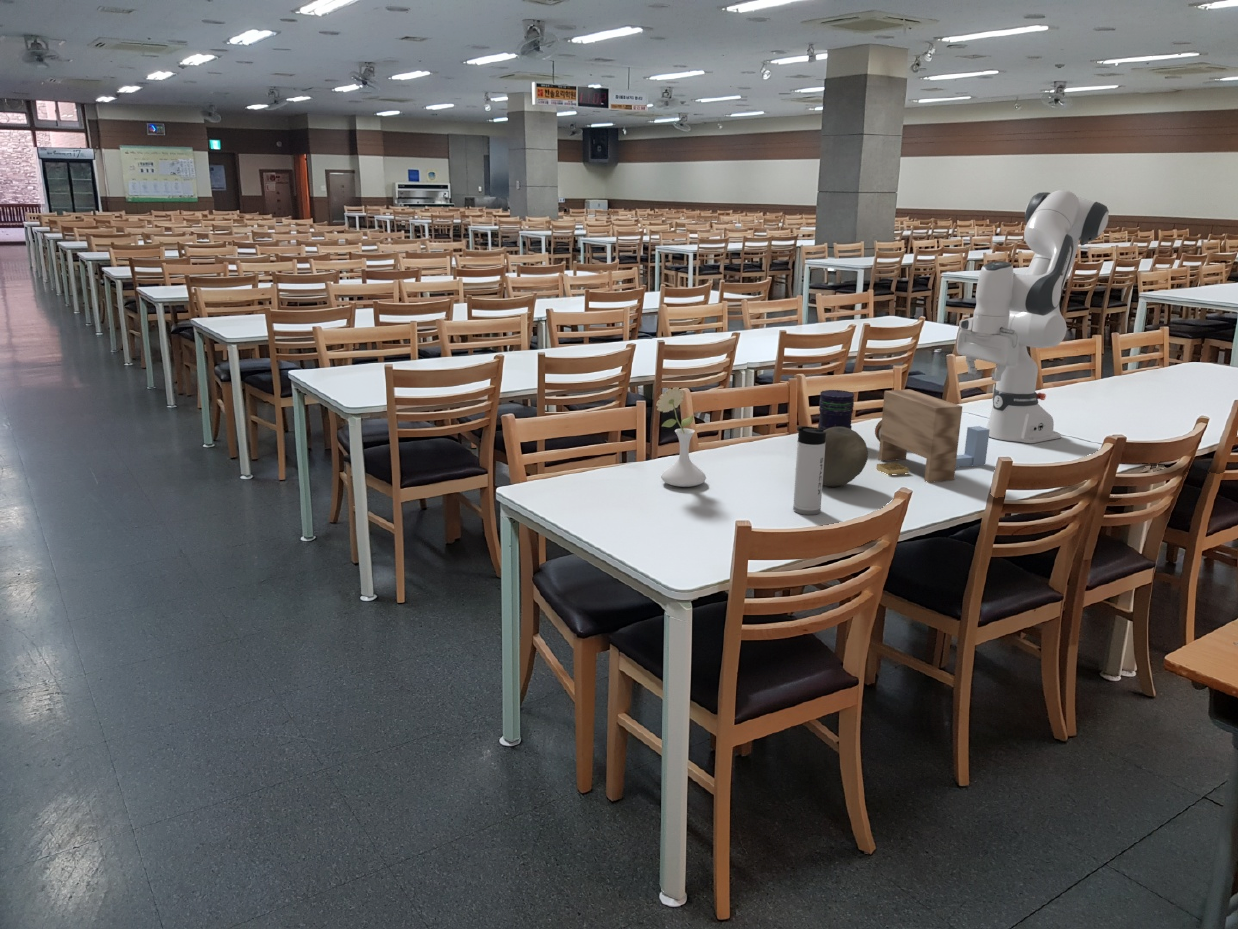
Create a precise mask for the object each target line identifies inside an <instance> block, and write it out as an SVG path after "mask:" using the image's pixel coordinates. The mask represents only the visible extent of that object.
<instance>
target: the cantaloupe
mask: <svg viewBox="0 0 1238 929" xmlns="http://www.w3.org/2000/svg"><path fill="white" fill-rule="evenodd" d="M824 432H826V438H825V442H826V443H825V457H824V471H823V484H822V486H826V487H830V488H831V487H840V486H844V485H846V484H848V483H850V482H852V481H853V480H855V479H856V477H858V476H859V475H860V474H861V473H862V472H863V470H864V468H865V466H866V464H867V462H868V460H869V448H868V447H867V444H866V440H864V438H863V437H862V436H861V435H860V434H859V433H858V432H856V431H854V429H852V428H851V429H849V428H846V427H832V428H828V429H826V430H824Z"/></svg>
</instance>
